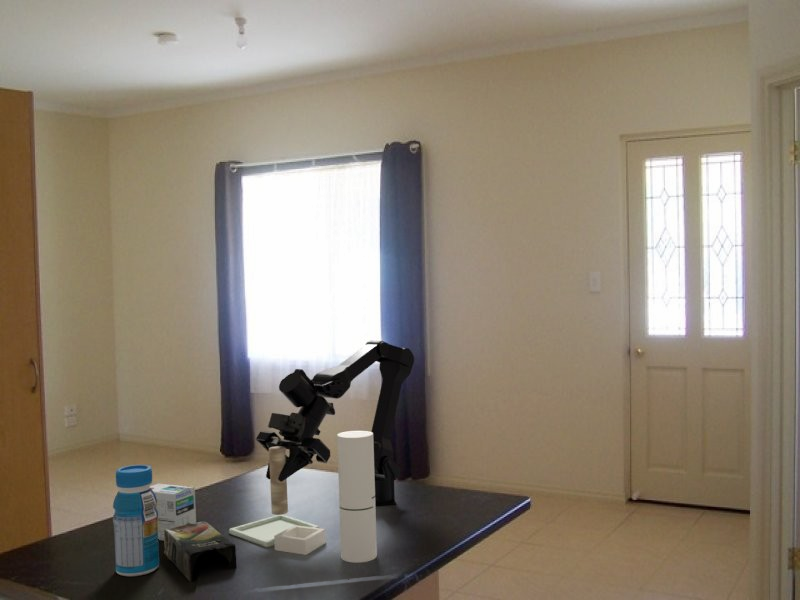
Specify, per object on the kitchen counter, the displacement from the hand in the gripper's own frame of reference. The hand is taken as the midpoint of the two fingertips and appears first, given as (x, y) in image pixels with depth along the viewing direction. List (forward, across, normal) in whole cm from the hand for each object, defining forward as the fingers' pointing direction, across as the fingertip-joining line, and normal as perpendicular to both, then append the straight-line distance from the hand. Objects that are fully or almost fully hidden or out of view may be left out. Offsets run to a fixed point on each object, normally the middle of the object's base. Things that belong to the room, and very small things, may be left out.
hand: (273, 479), depth 169 cm
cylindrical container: (+8, +22, +11) cm, 26 cm away
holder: (+10, +8, +9) cm, 16 cm away
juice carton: (+22, -3, -3) cm, 23 cm away
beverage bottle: (+29, -10, -10) cm, 32 cm away
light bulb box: (+18, -23, +1) cm, 29 cm away
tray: (+8, -3, +11) cm, 14 cm away
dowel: (+4, 0, +6) cm, 8 cm away
